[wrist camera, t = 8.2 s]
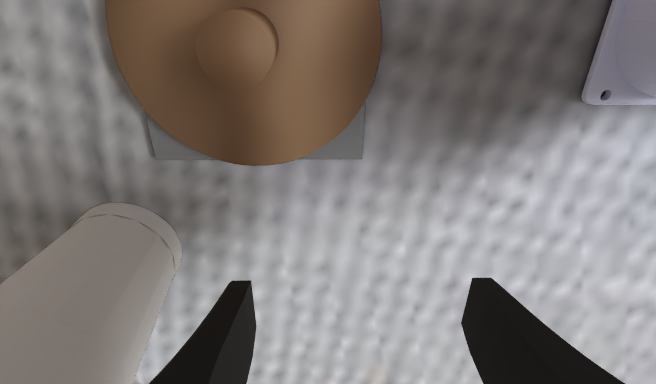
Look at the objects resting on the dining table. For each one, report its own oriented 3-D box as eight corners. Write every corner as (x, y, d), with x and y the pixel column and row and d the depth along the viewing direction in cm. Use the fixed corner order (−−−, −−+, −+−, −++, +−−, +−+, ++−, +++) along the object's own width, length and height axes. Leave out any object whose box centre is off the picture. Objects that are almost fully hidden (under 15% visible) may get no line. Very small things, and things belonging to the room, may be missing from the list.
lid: (397, -114, 15) (420, -144, 11) (365, 164, 20) (374, 198, 17) (82, -140, 14) (12, -178, 11) (139, 155, 20) (105, 188, 17)
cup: (31, 210, 22) (-241, 420, 11) (156, 173, 21) (-10, 364, 10) (107, 306, 25) (-42, 533, 15) (216, 279, 24) (140, 499, 14)
